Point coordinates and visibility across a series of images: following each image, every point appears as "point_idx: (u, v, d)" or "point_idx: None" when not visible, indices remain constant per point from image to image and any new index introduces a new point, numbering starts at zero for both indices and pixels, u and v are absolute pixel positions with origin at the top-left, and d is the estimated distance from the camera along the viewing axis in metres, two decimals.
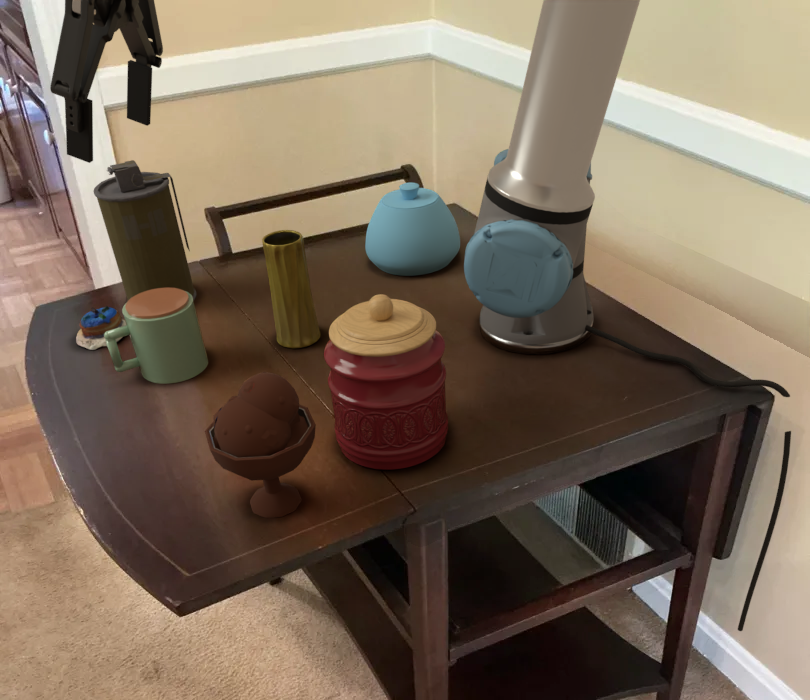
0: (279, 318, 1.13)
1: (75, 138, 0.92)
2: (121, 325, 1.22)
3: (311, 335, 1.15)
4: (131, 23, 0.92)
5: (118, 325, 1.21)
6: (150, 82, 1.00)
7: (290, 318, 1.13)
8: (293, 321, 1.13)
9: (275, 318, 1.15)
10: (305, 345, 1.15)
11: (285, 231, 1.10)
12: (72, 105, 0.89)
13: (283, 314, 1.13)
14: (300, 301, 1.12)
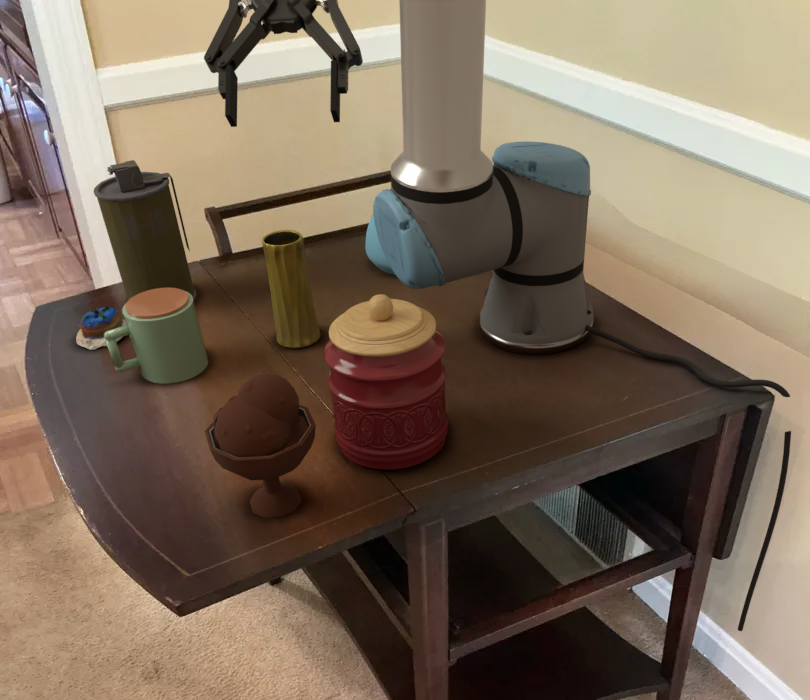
0: (279, 318, 1.13)
1: None
2: (121, 325, 1.22)
3: (311, 335, 1.15)
4: (305, 23, 1.08)
5: (118, 325, 1.21)
6: (334, 72, 1.07)
7: (290, 318, 1.13)
8: (293, 321, 1.13)
9: (275, 318, 1.15)
10: (305, 345, 1.15)
11: (285, 231, 1.10)
12: None
13: (283, 314, 1.13)
14: (300, 301, 1.12)
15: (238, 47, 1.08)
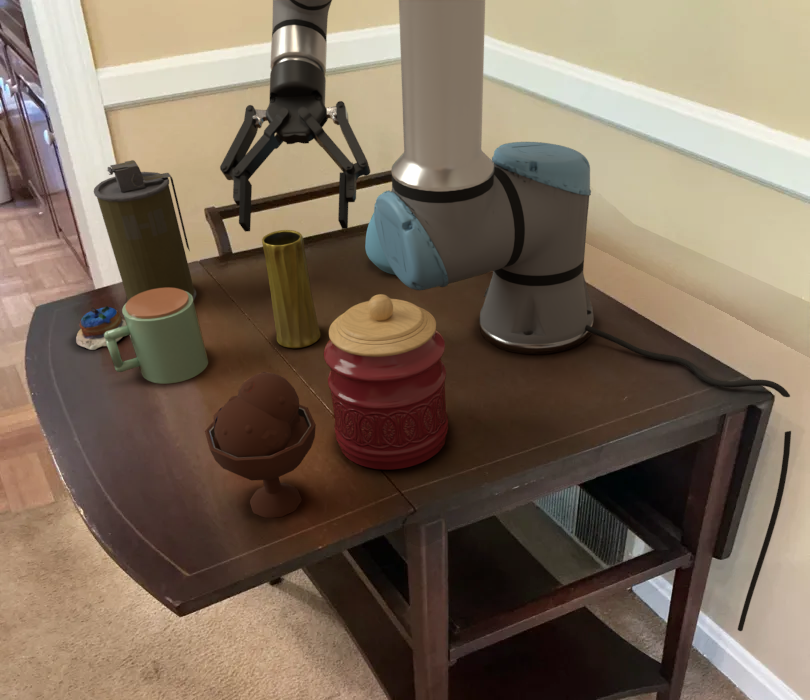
0: (279, 318, 1.13)
1: None
2: (121, 325, 1.22)
3: (311, 335, 1.15)
4: (315, 136, 1.14)
5: (118, 325, 1.21)
6: (342, 183, 1.12)
7: (290, 318, 1.13)
8: (293, 321, 1.13)
9: (275, 318, 1.15)
10: (305, 345, 1.15)
11: (285, 231, 1.10)
12: None
13: (283, 314, 1.13)
14: (300, 301, 1.12)
15: (252, 158, 1.14)
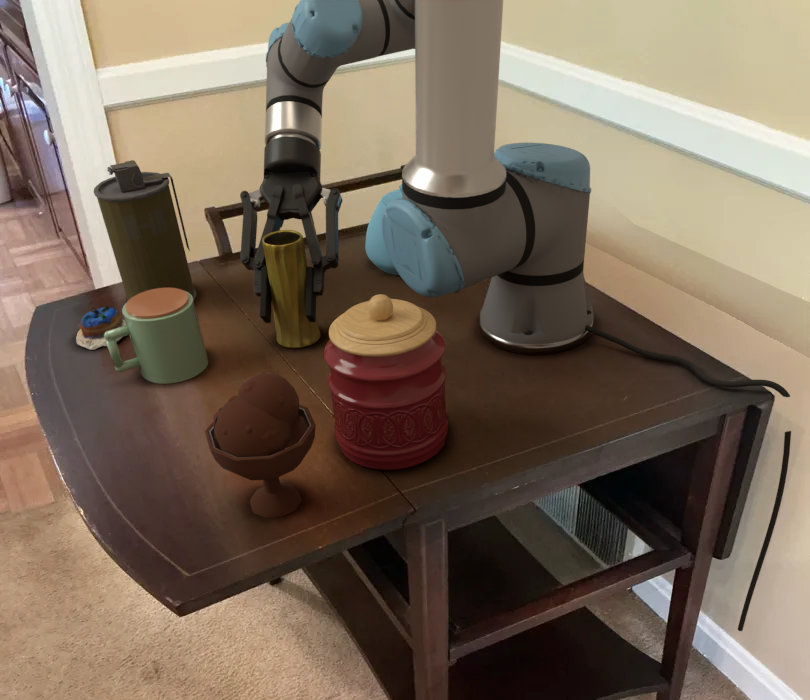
0: (279, 318, 1.13)
1: None
2: (121, 325, 1.22)
3: (311, 335, 1.15)
4: None
5: (118, 325, 1.21)
6: (309, 278, 1.10)
7: (290, 318, 1.13)
8: (293, 321, 1.13)
9: (275, 318, 1.15)
10: (305, 345, 1.15)
11: (285, 231, 1.10)
12: None
13: (283, 314, 1.13)
14: (300, 301, 1.12)
15: None
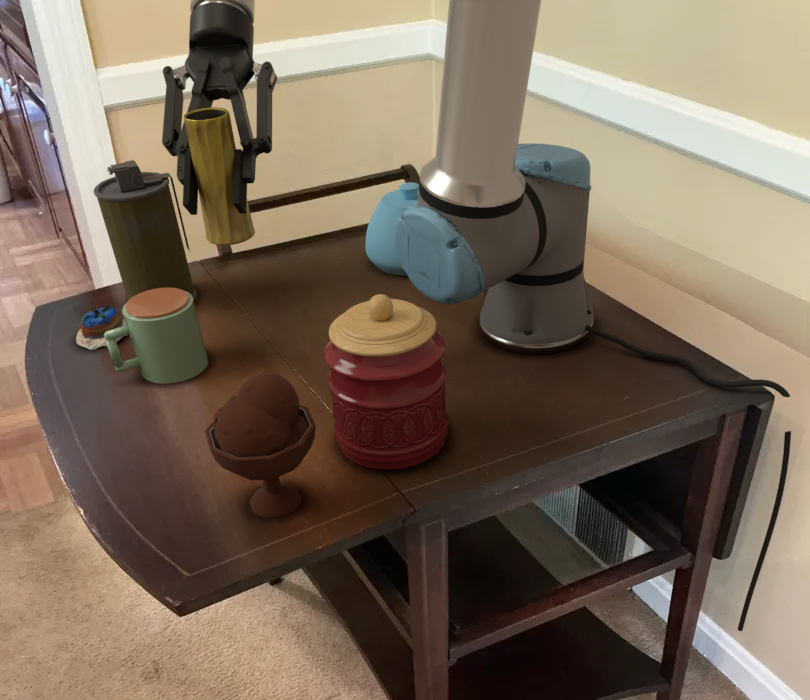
0: (206, 209, 1.02)
1: None
2: (121, 325, 1.22)
3: (243, 230, 1.04)
4: None
5: (118, 325, 1.21)
6: (237, 162, 0.99)
7: (218, 209, 1.01)
8: (221, 213, 1.02)
9: (203, 211, 1.03)
10: (236, 242, 1.04)
11: (211, 108, 0.98)
12: None
13: (210, 204, 1.01)
14: (228, 189, 1.00)
15: None
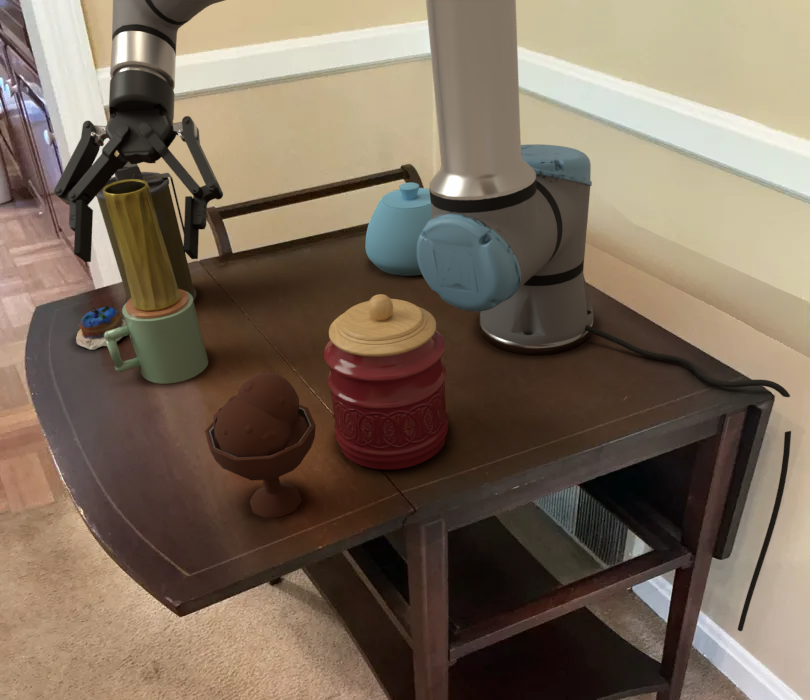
0: (130, 277, 1.03)
1: None
2: (121, 325, 1.22)
3: (167, 296, 1.05)
4: (160, 155, 1.01)
5: (118, 325, 1.21)
6: (188, 209, 1.00)
7: (141, 277, 1.03)
8: (145, 280, 1.03)
9: (127, 278, 1.05)
10: (161, 307, 1.05)
11: (131, 180, 1.00)
12: None
13: (133, 273, 1.03)
14: (150, 258, 1.02)
15: (90, 180, 1.01)
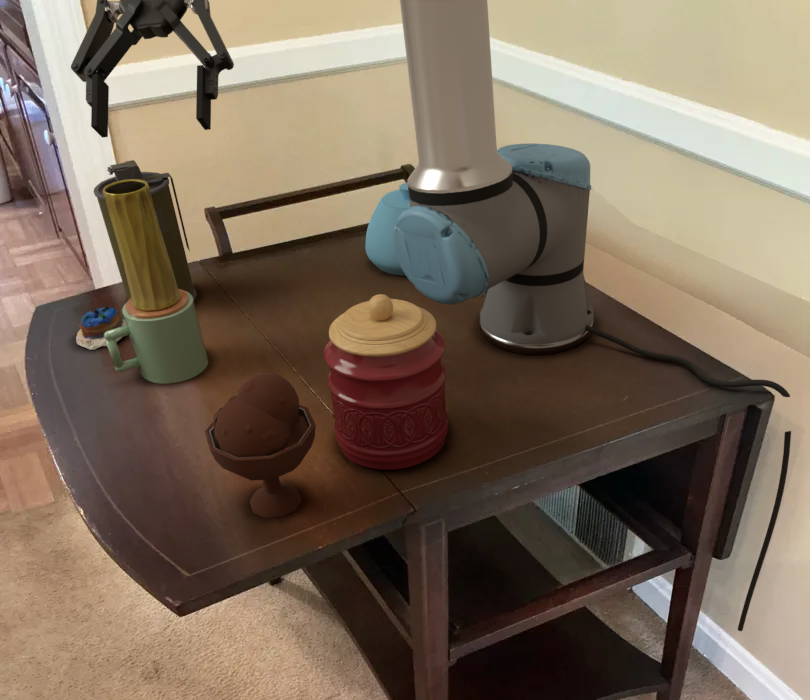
0: (130, 277, 1.03)
1: None
2: (121, 325, 1.22)
3: (167, 296, 1.05)
4: (172, 27, 1.03)
5: (118, 325, 1.21)
6: (200, 77, 1.02)
7: (141, 277, 1.03)
8: (145, 280, 1.03)
9: (127, 278, 1.05)
10: (161, 307, 1.05)
11: (131, 180, 1.00)
12: None
13: (133, 273, 1.03)
14: (150, 258, 1.02)
15: (105, 54, 1.04)
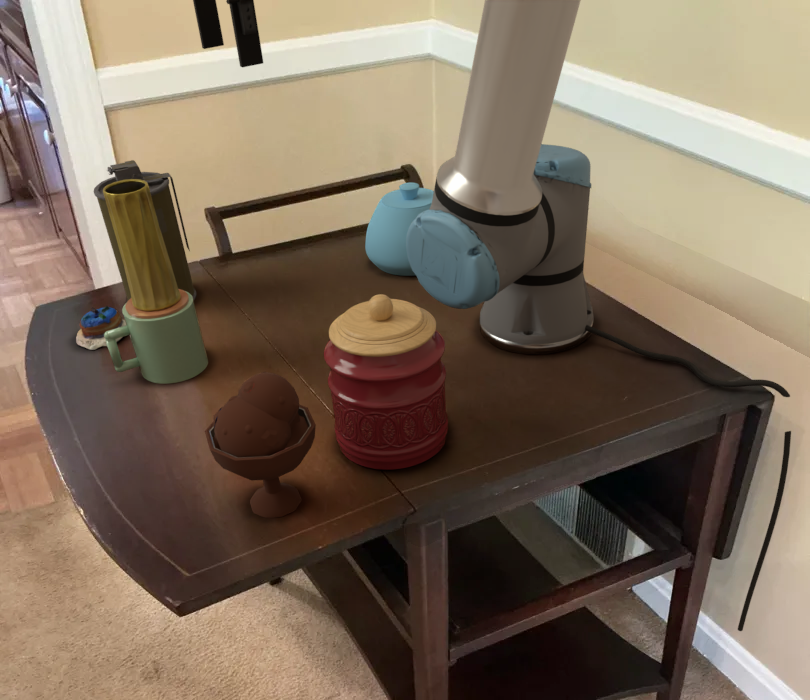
0: (130, 277, 1.03)
1: None
2: (121, 325, 1.22)
3: (167, 296, 1.05)
4: None
5: (118, 325, 1.21)
6: (233, 18, 0.97)
7: (141, 277, 1.03)
8: (145, 280, 1.03)
9: (127, 278, 1.05)
10: (161, 307, 1.05)
11: (131, 180, 1.00)
12: None
13: (133, 273, 1.03)
14: (150, 258, 1.02)
15: None
